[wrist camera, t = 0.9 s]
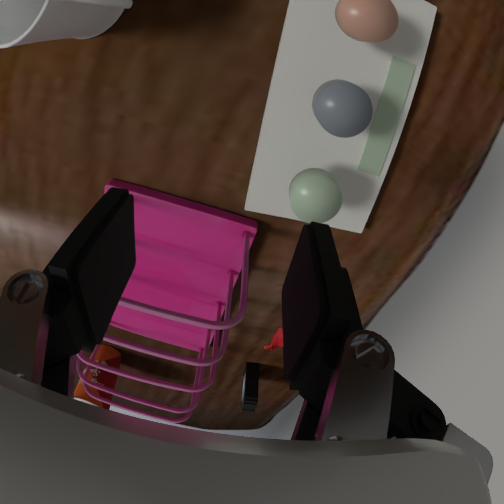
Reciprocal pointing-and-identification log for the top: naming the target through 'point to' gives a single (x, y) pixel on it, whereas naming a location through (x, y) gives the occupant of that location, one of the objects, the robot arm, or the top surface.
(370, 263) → the top surface
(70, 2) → the white cylinder
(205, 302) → the file sorter
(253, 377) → the ink cartridge
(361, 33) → the terracotta button
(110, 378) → the paper cup
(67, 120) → the top surface
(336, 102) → the grey rounded piece
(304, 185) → the pale green rounded piece
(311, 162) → the button panel
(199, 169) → the top surface
